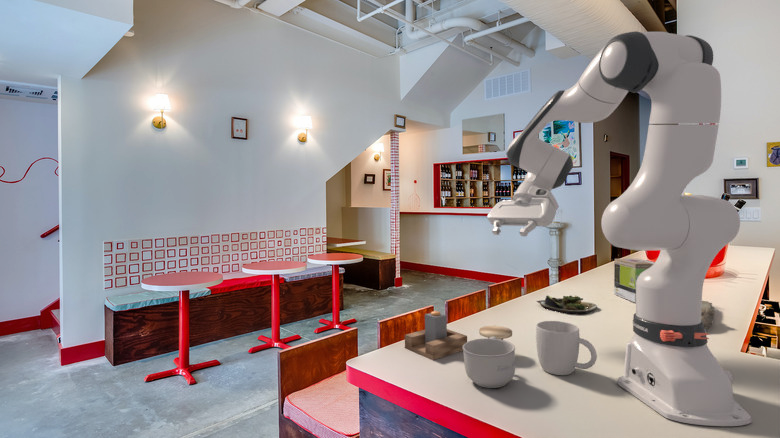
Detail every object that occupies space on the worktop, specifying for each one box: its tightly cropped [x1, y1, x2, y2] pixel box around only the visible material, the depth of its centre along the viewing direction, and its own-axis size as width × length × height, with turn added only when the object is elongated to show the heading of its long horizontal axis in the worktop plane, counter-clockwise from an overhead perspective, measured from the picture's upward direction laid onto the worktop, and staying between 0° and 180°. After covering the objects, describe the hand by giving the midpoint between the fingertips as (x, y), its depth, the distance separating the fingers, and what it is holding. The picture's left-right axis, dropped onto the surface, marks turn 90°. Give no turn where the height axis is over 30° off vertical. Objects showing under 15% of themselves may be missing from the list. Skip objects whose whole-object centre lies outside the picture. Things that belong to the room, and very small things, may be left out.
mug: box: [535, 320, 598, 376], centre depth 93 cm, size 13×9×10 cm
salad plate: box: [536, 294, 598, 315], centre depth 149 cm, size 19×18×5 cm
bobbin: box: [478, 325, 513, 340], centre depth 105 cm, size 8×8×6 cm
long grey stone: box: [701, 300, 715, 330], centre depth 132 cm, size 35×5×10 cm
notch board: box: [404, 328, 468, 361], centre depth 109 cm, size 12×11×4 cm
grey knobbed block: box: [424, 310, 448, 343], centre depth 109 cm, size 4×4×9 cm
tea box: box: [613, 258, 656, 304], centre depth 159 cm, size 15×10×15 cm
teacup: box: [462, 336, 516, 389], centre depth 90 cm, size 14×11×8 cm
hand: (508, 234), depth 119 cm, fingers open, 8 cm apart
